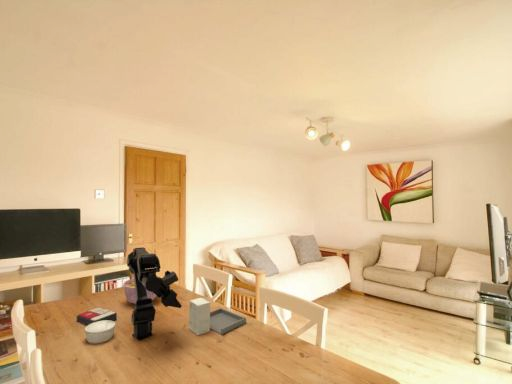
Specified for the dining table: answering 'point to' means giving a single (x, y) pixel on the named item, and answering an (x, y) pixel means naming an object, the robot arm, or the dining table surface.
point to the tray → (225, 321)
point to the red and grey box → (96, 316)
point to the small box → (199, 316)
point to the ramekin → (99, 331)
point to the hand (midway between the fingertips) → (178, 303)
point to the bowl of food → (131, 293)
